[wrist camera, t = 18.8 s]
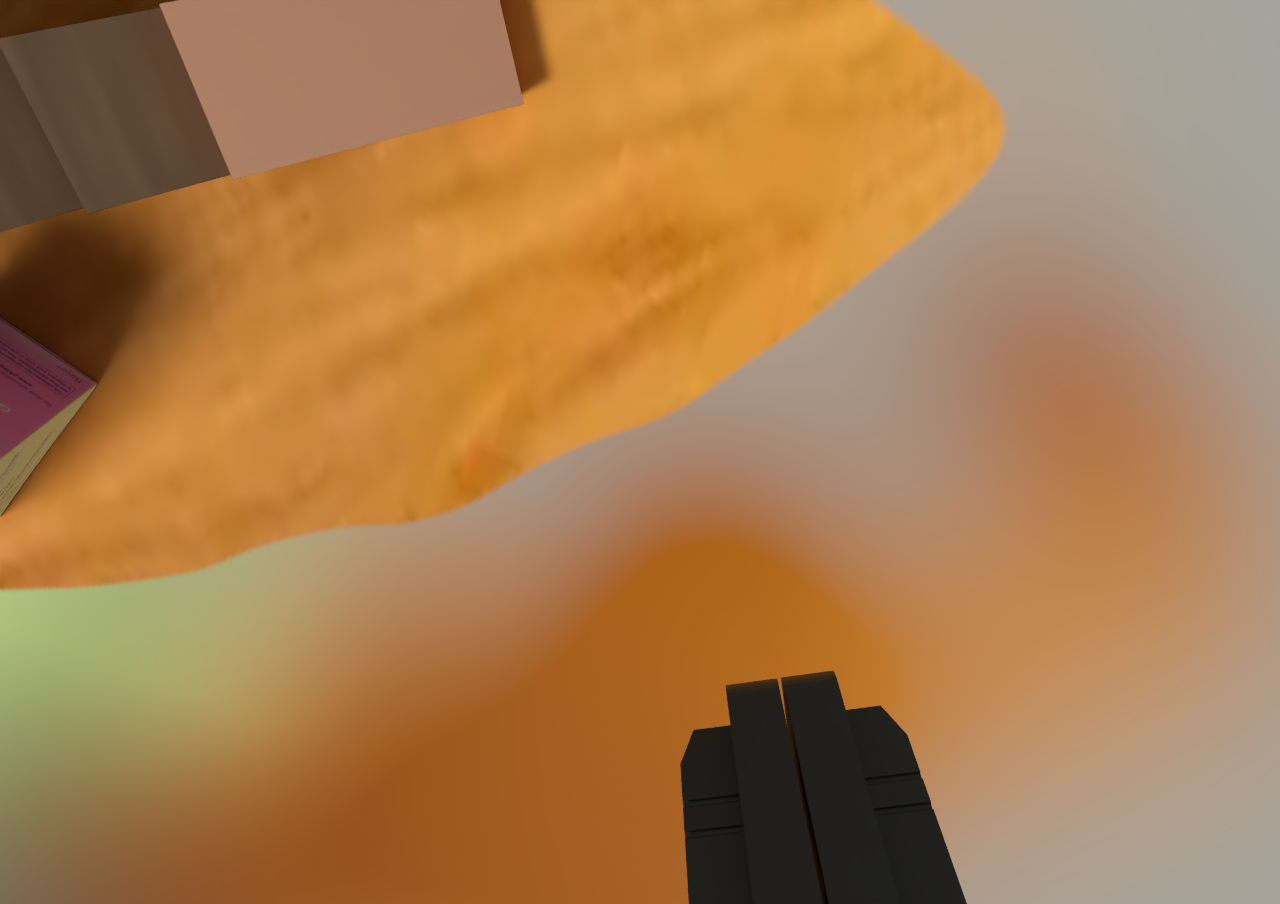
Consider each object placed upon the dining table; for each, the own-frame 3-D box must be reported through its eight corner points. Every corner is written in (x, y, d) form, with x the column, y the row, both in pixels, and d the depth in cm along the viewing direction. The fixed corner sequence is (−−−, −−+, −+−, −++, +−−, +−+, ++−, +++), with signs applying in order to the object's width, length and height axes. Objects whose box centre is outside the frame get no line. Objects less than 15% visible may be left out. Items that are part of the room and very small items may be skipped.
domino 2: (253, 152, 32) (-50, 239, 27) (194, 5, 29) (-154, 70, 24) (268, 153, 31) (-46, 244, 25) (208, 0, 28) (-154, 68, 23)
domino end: (509, 101, 31) (230, 173, 28) (472, -55, 28) (160, 5, 25) (523, 103, 30) (232, 179, 27) (485, -60, 27) (159, 4, 24)
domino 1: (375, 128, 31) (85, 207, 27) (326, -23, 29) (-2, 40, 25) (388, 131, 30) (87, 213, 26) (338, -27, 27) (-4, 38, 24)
